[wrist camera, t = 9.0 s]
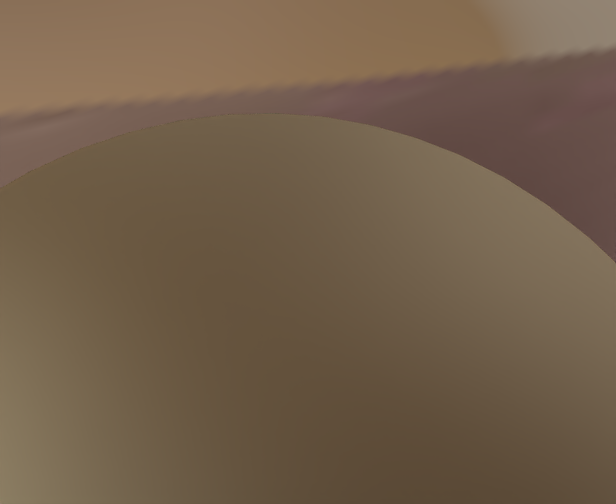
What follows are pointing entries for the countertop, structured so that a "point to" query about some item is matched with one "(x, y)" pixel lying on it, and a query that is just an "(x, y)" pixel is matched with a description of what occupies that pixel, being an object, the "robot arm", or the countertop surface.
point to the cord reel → (298, 325)
